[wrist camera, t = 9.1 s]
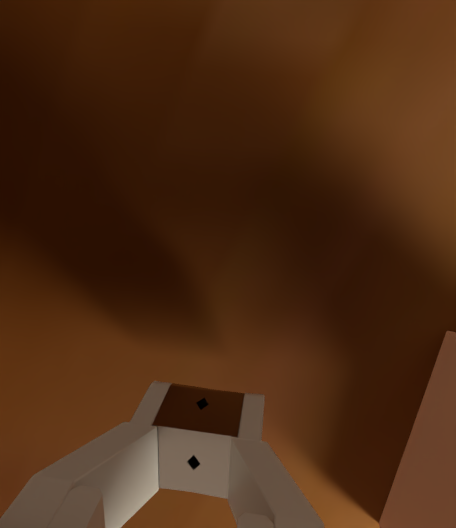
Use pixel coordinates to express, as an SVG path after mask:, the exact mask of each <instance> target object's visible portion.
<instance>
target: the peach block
mask: <svg viewBox="0 0 456 528" xmlns="http://www.w3.org/2000/svg"><path fill="white" fill-rule="evenodd" d="M379 526H380V528H456V332H452V331H447V332H446V334H445V337H444V340H443V343H442V346H441V349H440V351H439V354H438V357H437V360H436V363H435V366H434V368H433V371H432V374H431V377H430V380H429V383H428V385H427V388H426V391H425V394H424V397H423V400H422V402H421V405H420V408H419V411H418V414H417V416H416V419H415V422H414V425H413V428H412V431H411V433H410V436H409V439H408V442H407V445H406V448H405V450H404V453H403V456H402V459H401V462H400V465H399V467H398V470H397V473H396V476H395V479H394V482H393V484H392V487H391V490H390V493H389V496H388V499H387V501H386V504H385V507H384V510H383V513H382V516H381V518H380V521H379Z"/></svg>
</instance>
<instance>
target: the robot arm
mask: <svg viewBox="0 0 456 528" xmlns="http://www.w3.org/2000/svg"><path fill="white" fill-rule="evenodd" d="M264 398H265V397H264V394H254V393H238V392H230V391H222V390H214V389H208V388H201V387H194V386H188V385H181V384H174V383H173V384H171V383H166V382H159V381H154V382H153V383H151V384H150V386H149V388H148V390H147V392H146V393H145V395H144V397H143V399H142V401H141V403H140V404H139V406H138V408H137V410H136V412H135V413H134V415H133V417H132V419H131V421H130V422H129V423H128V422H123V423H121V424H120V425H118V426H116V427H115V428H113V429H111V430H109V431H108V432H106V433H104V434H103V435H101V436H99V437H97V438H96V439H94V440H92V441H91V442H89V443H87V444H86V445H84V446H82V447H80V448H79V449H77V450H75V451H74V452H72V453H70V454H69V455H67V456H65V457H63V458H62V459H60V460H58V461H57V462H55V463H53V464H52V465H50V466H48V467H46V468H45V469H43V470H41V471H40V472H38V473H36V474H34V475H33V476H32V478H31V479H30V480H29V481H28V483H27V484H26V485H25V487H24V488H23V489H22V491H21V492H20V493H19V495H18V496H17V497H16V499H15V500H14V501H13V503H12V504H11V505H10V507H9V508H8V509H7V511H6V512H5V513H4V515H3V516H2V517H1V518H0V528H120V527H121V526H123V525H124V524H125V523H126V522H127V521H128V520H129V519H130V518H131V517H132V516H133V515H134V514H135V513H136V512H137V511H138V510H139V509H140V508H141V507H142V506H143V505H144V504H145V503H146V502H147V501H148V500H149V499H150V498H151V497H152V496H153V495H154V494H155V493H156V492H157V491H158V490H159V488H165V489H173V490H181V491H188V492H195V493H200V494H205V495H211V496H216V497H221V498H226V499H228V503H229V505H230V508H231V510H232V513H233V516H234V518H235V521H236V523H237V528H324V523H323V522H322V520H321V519H320V517H319V516H318V515H317V513H316V512H315V510H314V509H313V507H312V506H311V505H310V503H309V502H308V500H307V499H306V497H305V496H304V494H303V493H302V492H301V490H300V489H299V487H298V486H297V484H296V483H295V481H294V480H293V479H292V477H291V476H290V474H289V473H288V471H287V470H286V468H285V467H284V466H283V464H282V463H281V461H280V460H279V458H278V457H277V455H276V454H275V453H274V451H273V450H272V448H271V447H270V445H269V444H268V443H267V442H263V441H261V440H262V426H263V412H264Z"/></svg>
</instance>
